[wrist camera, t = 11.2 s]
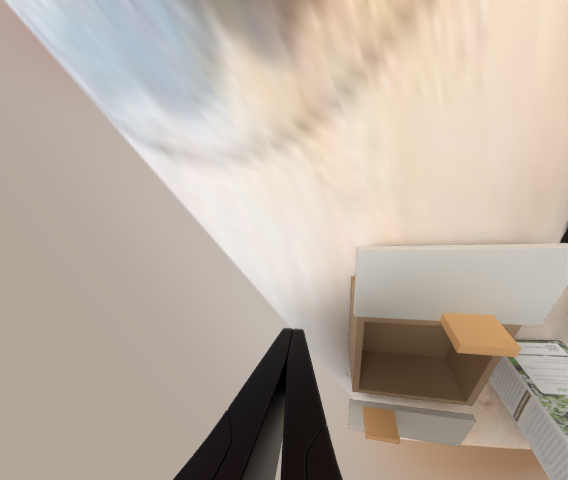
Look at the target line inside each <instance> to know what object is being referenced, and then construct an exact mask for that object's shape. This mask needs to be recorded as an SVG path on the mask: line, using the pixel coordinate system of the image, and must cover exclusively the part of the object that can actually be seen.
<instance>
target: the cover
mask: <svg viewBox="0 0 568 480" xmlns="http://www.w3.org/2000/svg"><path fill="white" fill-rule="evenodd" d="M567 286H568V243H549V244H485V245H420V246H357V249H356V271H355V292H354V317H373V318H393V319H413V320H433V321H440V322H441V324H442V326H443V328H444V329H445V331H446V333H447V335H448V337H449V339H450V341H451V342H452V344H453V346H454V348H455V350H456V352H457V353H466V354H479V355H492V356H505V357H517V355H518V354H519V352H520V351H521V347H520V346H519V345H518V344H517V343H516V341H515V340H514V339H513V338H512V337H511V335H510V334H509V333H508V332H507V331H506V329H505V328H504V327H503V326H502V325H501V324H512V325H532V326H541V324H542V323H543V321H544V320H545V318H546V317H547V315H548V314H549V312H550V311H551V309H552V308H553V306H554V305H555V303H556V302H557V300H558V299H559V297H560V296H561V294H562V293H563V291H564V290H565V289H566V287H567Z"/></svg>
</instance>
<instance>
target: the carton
mask: <svg viewBox="0 0 568 480" xmlns="http://www.w3.org/2000/svg"><path fill="white" fill-rule="evenodd" d="M354 292H355V276H351V295H350V324H349V357H350V368H351V379H352V390H353V392H361V393H370V394H378V395H386V396H394V397H403V398H411V399H419V400H427V401H436V402H444V403H452V404H461V405H469V406H472V405H473V404H474V402H475V400H476V399H477V397H478V395H479V394H480V392H481V391H482V389H483V387H484V386H485V384H486V382H487V381H488V379H489V377H490V376H491V374H492V372H493V371H494V369H495V368H496V366H497V364H498V363H499V361H500V359H501V358H502V356H492V355H479V354H466V353H457V352H456V350H455V348H454V346H453V344H452V342H451V341H450V339H449V337H448V335H447V333H446V331H445V329H444V328H443V326H442V324H441V322H440V321H433V320H413V319H393V318H373V317H354ZM501 325H502V326H503V327H504V328H505V329H506V331H507V332H508V333H509V334H510V335H511V337H512V338H514V336H515V335H516V333H517V331H518V330H519V328H520V326H521V325H512V324H501Z"/></svg>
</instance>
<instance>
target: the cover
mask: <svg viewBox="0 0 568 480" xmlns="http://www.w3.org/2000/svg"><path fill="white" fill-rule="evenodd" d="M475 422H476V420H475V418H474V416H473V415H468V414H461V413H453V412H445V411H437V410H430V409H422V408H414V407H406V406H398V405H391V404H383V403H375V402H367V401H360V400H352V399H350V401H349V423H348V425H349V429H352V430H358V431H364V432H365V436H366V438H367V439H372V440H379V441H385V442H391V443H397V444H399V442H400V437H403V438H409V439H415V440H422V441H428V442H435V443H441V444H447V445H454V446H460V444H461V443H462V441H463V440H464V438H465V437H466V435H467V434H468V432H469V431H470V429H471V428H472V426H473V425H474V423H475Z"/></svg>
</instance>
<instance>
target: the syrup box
mask: <svg viewBox="0 0 568 480" xmlns="http://www.w3.org/2000/svg"><path fill="white" fill-rule="evenodd" d="M515 341H516V343H517V344H518V345H519V346H520V347H521V351H520V352H519V354H518V355H517V357H505V356H502V358H501V359H500V361H499V363H498V364H497V366H496V368H495V369H494V371H493V372H492V374H491V376H490V377H489V379H488V380H489V382H490V383H491V385H492V386H493V388H494V389H495V391H496V392H497V394H498V396H499V397H500V399H501V400H502V402H503V404H504V405H505V407H506V408H507V410H508V412H509V413H510V415H511V416H512V418H513V420H514V421H515V423H516V425H517V426H518V428H519V430H520V431H521V433H522V434H523V436H524V438H525V439H526V441H527V443H528V444H529V446H530V448H531V449H532V451H533V453H534V454H535V456H536V457H537V459H538V461H539V462H540V464H541V466H542V467H543V469H544V471H545V472H546V474H547V476H548V477H549V479H550V480H568V348H567V347H566V346H565V345H564V344H563V343H562V342H561V341H524V340H515Z"/></svg>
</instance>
